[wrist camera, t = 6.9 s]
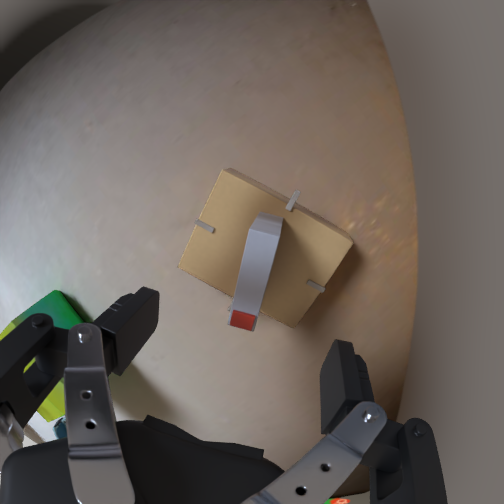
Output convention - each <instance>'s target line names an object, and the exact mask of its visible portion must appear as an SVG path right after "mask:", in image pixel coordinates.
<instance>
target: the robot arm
mask: <svg viewBox="0 0 504 504" xmlns="http://www.w3.org/2000/svg"><path fill="white" fill-rule="evenodd" d="M158 315H159V292H158V291H156V290H153V289H150V288H147V287H142V288H141V289H139V290H138V291H137V292H136V293H135V294H132V293H130V294H127V295H124V296H122V297H120V298H119V299H118V300H117V301H116V302H115V303H114V304H112V305H111V306H110V307H109V308H108V309H107V310H106V311H105V312H103V313H102V314H101V315H100V316H99V317H98V318H97V319H96V320H95V321H94V322H92V323H79V324H76V325H74V326H73V327H71V328H70V330H69V329H64V328H60V327H55V326H54V322H53V319H52V317H51V316H50V315H48V314H45V313H35V314H32V315H30V316H29V317H27V318H26V319H25V320H24V321H23V322H21V323H20V324H19V325H18V326H17V327H16V328H14V329H13V330H12V331H11V332H10V333H9V334H7V335H6V336H5V337H4V338H3V339H2V340H1V341H0V474H1V485H0V504H324V503H325V502H326V501H327V500H328V499H329V497H330V496H331V495H332V494H333V493H334V492H335V491H336V490H337V489H338V488H339V487H340V485H341V484H342V483H343V482H344V481H345V480H346V478H347V477H348V476H349V475H350V474H351V472H352V471H353V470H354V469H355V468H356V466H357V465H358V464H362V465H365V466H368V467H369V471H370V504H448V503H447V496H446V490H445V485H444V479H443V474H442V469H441V464H440V459H439V455H438V451H437V447H436V442H435V438H434V434H433V431H432V428H431V427H430V425H429V424H428V423H427V422H426V421H424V420H422V419H419V418H412V419H409V420H408V421H407V422H406V423H405V424H404V425H403V424H400V423H397V422H394V421H391V420H389V419H387V415H386V412H385V411H384V409H383V408H382V407H381V406H379V405H378V404H376V403H375V401H374V396H373V392H372V387H371V383H370V380H369V375H368V371H367V366H366V363H365V362H364V360H363V359H362V358H361V356H360V355H356V354H355V353H354V349H353V344H352V343H351V342H347V341H342V340H337V339H336V340H334V342H333V344H332V346H331V348H330V350H329V352H328V354H327V357H326V359H325V361H324V363H323V365H322V368H321V371H320V399H321V434H326V436H325V437H324V438H322V439H321V440H320V441H319V442H318V443H317V444H316V445H315V446H314V447H313V448H312V449H311V450H310V451H309V452H308V453H306V454H305V455H304V456H303V457H302V458H301V459H300V460H298V461H297V462H296V463H295V464H294V465H293V466H291V467H290V468H289V469H288V470H287V471H284V470H282V469H281V468H280V467H279V466H277V465H276V464H275V463H273V462H271V461H269V460H268V459H265V458H263V453H264V449H259V448H254V447H249V446H245V445H241V444H236V443H223V442H209V441H202V440H200V439H198V438H196V437H194V436H192V435H191V434H189V433H187V432H185V431H184V430H182V429H180V428H179V427H177V426H176V425H173V424H171V423H168V422H165V421H163V420H160V419H157V418H155V417H152V416H150V415H147V416H146V418H145V420H144V421H136V420H124V421H116V417H115V412H114V407H113V402H112V397H111V392H110V386H109V380H108V376H109V375H110V374H111V372H113V373H115V374H117V375H119V376H121V375H122V373H123V372H124V371H125V369H126V368H127V367H128V365H129V364H130V363H131V361H132V360H133V359H134V357H135V356H136V355H137V353H138V352H139V351H140V349H141V348H142V347H143V345H144V344H145V343H146V342H147V340H148V339H149V338H150V336H151V335H152V334H153V333H154V331H155V329H156V327H157V324H158ZM33 358H35V361H34V363H33V364H32V365H31V366H30V367H29V368H28V369H27V370H26V371H25V372H24V369H25V367H26V366H27V365H28V364H29V363H30V362H31V361H32V360H33ZM62 377H63V378H64V402H65V418H66V429H67V437H64V438H61V439H57V440H53V441H49V442H45V443H41V444H37V445H32V446H28V447H24V448H23V443H22V442H23V440H24V432H23V428H24V427H25V425H26V424H27V423H28V421H29V420H30V419H31V417H32V416H33V415H34V413H35V412H36V411H37V409H38V408H39V407H40V405H41V404H42V403H43V401H44V400H45V399H46V397H47V396H48V395H49V394H50V392H51V391H52V390H53V389H54V387H55V386H56V385H57V384H58V382H59V381H60V380H61V379H62Z"/></svg>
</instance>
